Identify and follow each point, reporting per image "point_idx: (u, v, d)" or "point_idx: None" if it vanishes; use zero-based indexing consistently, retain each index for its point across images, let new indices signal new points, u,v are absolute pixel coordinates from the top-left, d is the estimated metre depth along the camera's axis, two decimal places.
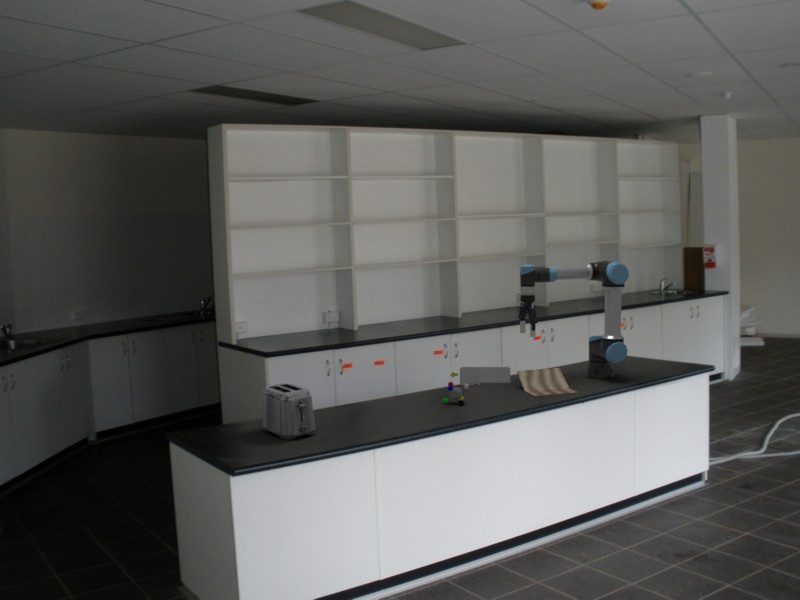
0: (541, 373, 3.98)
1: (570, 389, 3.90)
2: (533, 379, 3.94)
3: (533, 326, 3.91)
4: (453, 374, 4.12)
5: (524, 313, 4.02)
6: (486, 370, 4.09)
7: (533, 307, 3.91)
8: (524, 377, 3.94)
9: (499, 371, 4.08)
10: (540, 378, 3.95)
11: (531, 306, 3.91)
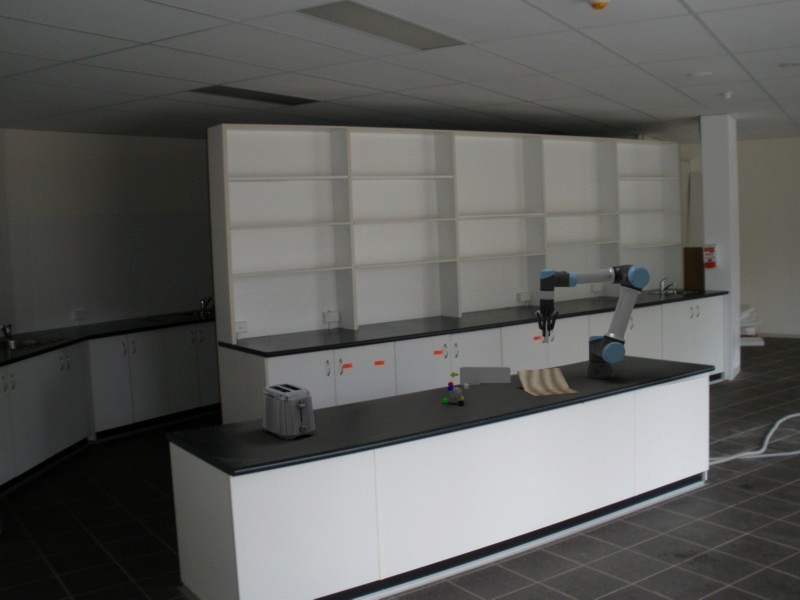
0: (541, 373, 3.98)
1: (570, 389, 3.90)
2: (533, 379, 3.94)
3: (542, 332, 4.05)
4: (453, 374, 4.12)
5: (547, 319, 4.05)
6: (486, 370, 4.08)
7: (536, 315, 4.03)
8: (524, 377, 3.94)
9: (499, 371, 4.08)
10: (540, 378, 3.95)
11: (535, 313, 4.04)
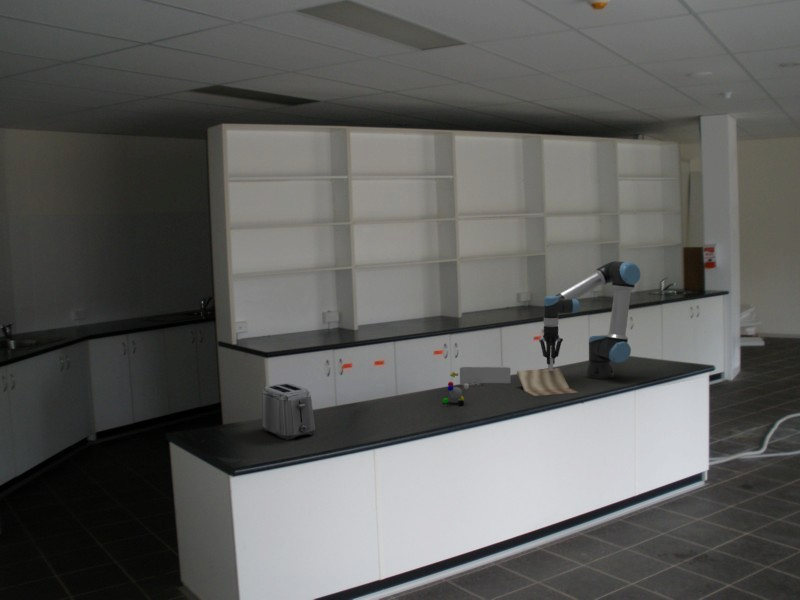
0: (541, 373, 3.98)
1: (570, 389, 3.90)
2: (533, 380, 3.94)
3: (547, 360, 3.98)
4: (453, 374, 4.12)
5: (551, 346, 3.98)
6: (486, 370, 4.08)
7: (540, 342, 3.96)
8: (524, 377, 3.94)
9: (499, 371, 4.07)
10: (540, 378, 3.95)
11: (539, 341, 3.97)
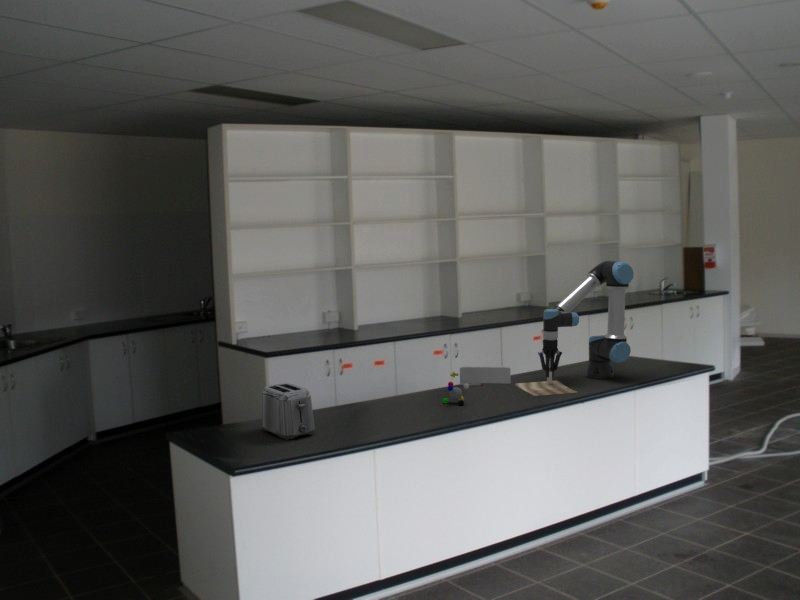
0: (539, 383, 4.00)
1: (570, 389, 3.90)
2: (532, 386, 3.95)
3: (546, 373, 3.99)
4: (453, 374, 4.12)
5: (550, 359, 3.99)
6: (486, 370, 4.08)
7: (540, 355, 3.97)
8: (522, 385, 3.96)
9: (499, 371, 4.07)
10: (539, 385, 3.97)
11: (538, 354, 3.98)
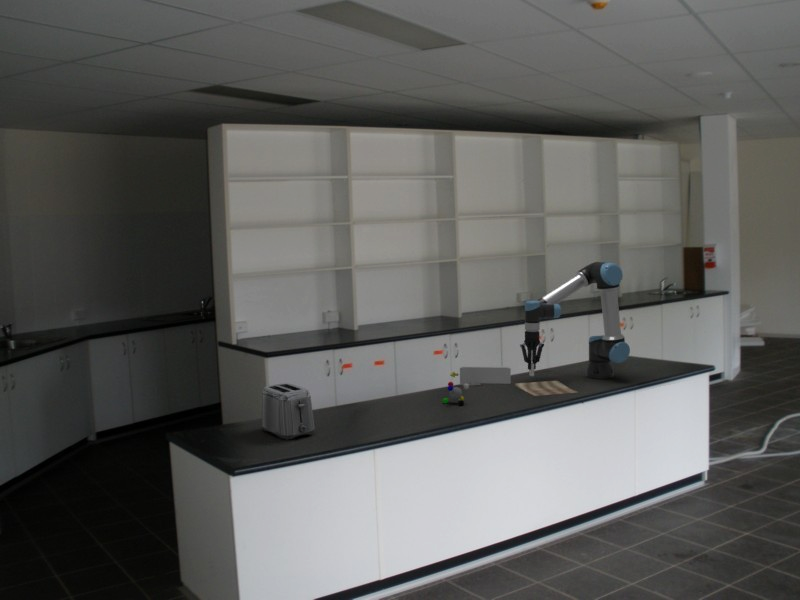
0: (539, 383, 4.00)
1: (570, 389, 3.90)
2: (532, 386, 3.95)
3: (528, 365, 3.96)
4: (453, 374, 4.12)
5: (532, 351, 3.96)
6: (486, 370, 4.07)
7: (521, 347, 3.93)
8: (522, 385, 3.96)
9: (499, 371, 4.06)
10: (539, 385, 3.97)
11: (520, 346, 3.94)
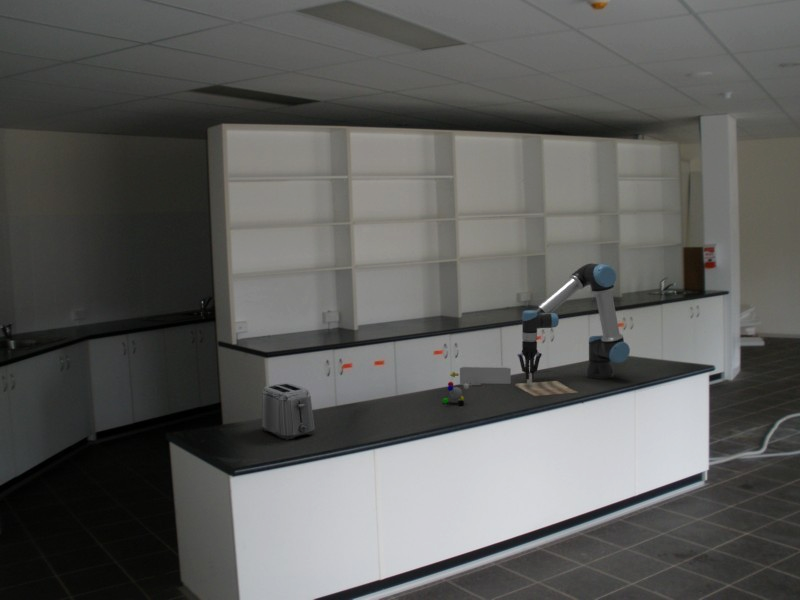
0: (539, 383, 4.00)
1: (570, 389, 3.90)
2: (532, 386, 3.95)
3: (526, 375, 3.96)
4: (453, 374, 4.12)
5: (530, 361, 3.96)
6: (486, 370, 4.07)
7: (519, 357, 3.94)
8: (522, 385, 3.96)
9: (499, 371, 4.06)
10: (539, 385, 3.97)
11: (518, 356, 3.95)
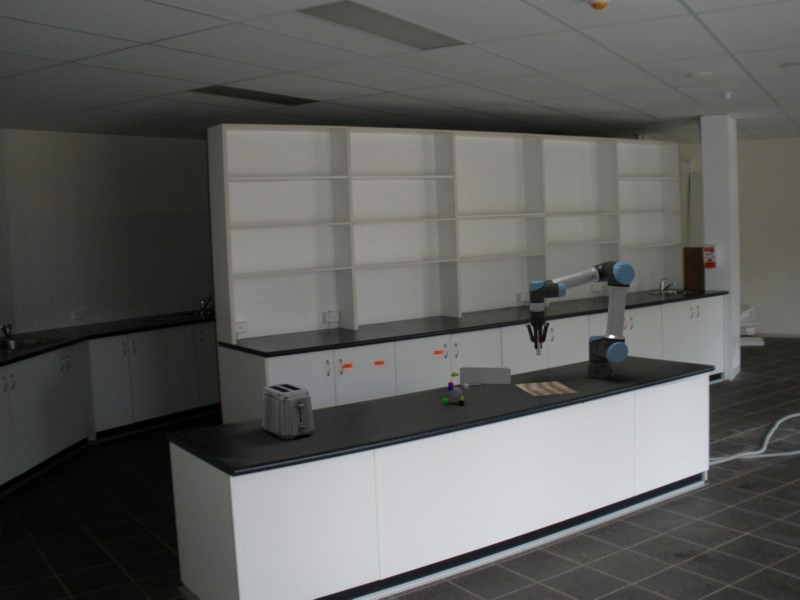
0: (539, 384, 4.01)
1: (570, 389, 3.90)
2: (532, 386, 3.95)
3: (534, 345, 4.00)
4: (453, 374, 4.12)
5: (538, 331, 4.00)
6: (486, 370, 4.07)
7: (527, 327, 3.97)
8: (522, 386, 3.96)
9: (499, 371, 4.06)
10: (539, 386, 3.97)
11: (526, 326, 3.98)
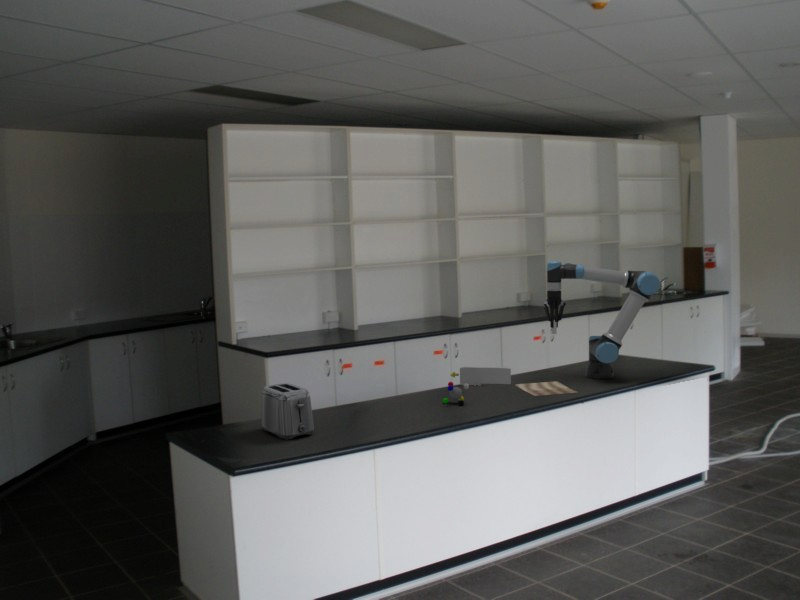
0: (539, 384, 4.01)
1: (570, 389, 3.90)
2: (532, 386, 3.95)
3: (550, 323, 4.11)
4: (453, 374, 4.12)
5: (555, 310, 4.11)
6: (486, 370, 4.06)
7: (544, 306, 4.09)
8: (522, 386, 3.96)
9: (499, 372, 4.05)
10: (539, 386, 3.97)
11: (543, 305, 4.10)
